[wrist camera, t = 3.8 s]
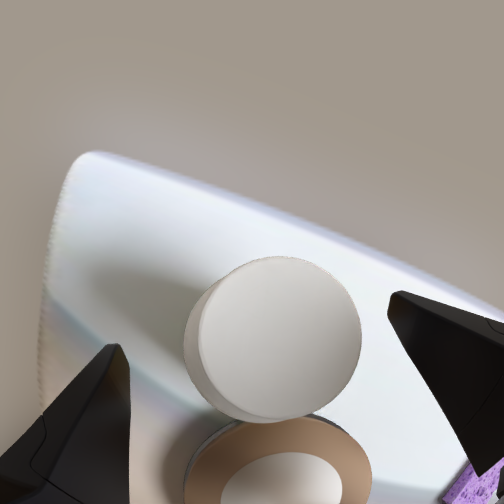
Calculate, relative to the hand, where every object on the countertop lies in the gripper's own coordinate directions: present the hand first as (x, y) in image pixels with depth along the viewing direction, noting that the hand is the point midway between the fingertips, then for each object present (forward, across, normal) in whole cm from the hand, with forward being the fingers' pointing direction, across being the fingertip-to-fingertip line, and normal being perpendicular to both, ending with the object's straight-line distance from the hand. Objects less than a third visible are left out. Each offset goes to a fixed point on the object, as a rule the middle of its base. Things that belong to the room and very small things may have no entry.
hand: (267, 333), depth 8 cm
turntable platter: (-1, 0, +12) cm, 12 cm away
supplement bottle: (+5, 0, +6) cm, 8 cm away
